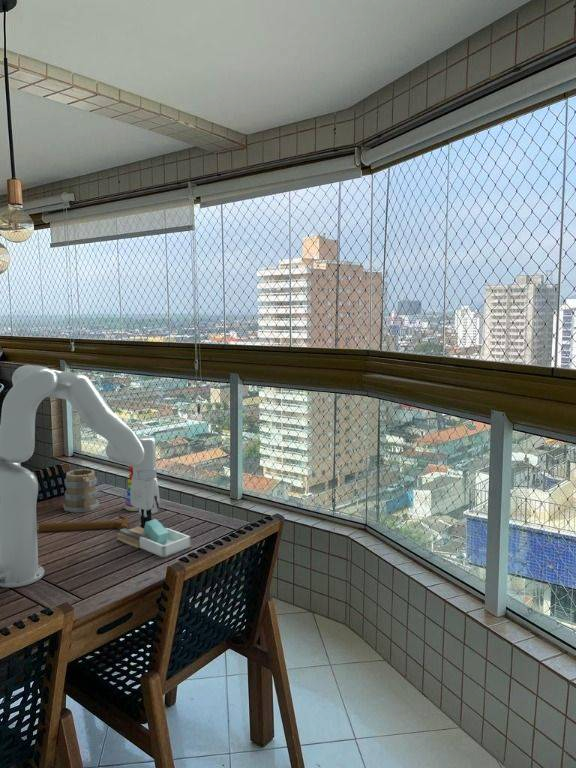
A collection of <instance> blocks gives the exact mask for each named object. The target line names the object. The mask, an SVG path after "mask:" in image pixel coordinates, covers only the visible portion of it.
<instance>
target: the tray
mask: <svg viewBox="0 0 576 768" xmlns="http://www.w3.org/2000/svg"><path fill="white" fill-rule="evenodd" d="M164 528H165V529H166V530H167V531H168V532H169V535H168V539H167V542H166V543H164V544H159V543H157V542H154V541H152V540H149V539H147V538H144V537H140V547H139V549H141V550H144V551H146V552H149V553H151V554H154V555H155V556H158V557H161V558H163V559H164V558H167V557H169V556H171V555H174V554H177V553H179V552H181V551H185V550H187V549H189V548H191V547H192V536H190V535H189V534H188V535H187V534H184V533H182V532H180V531H177V530H173V529H171V528H169V527H164ZM184 549H185V550H184Z"/></svg>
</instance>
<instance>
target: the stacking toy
mask: <svg viewBox="0 0 576 768" xmlns="http://www.w3.org/2000/svg"><path fill="white" fill-rule="evenodd" d="M128 471H129V472H130V473H129V475H128V478H129V479H128V480H127V483H128V484H127V490H126V496H125V497H126V499H125V501H124V503H125V505H124V509H125V510H126V511H128V512H139V510H138V509H137V508H136V507H134V506H132V505H131V502H130V489H131V480H132V477H133V466H128Z"/></svg>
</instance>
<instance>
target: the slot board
mask: <svg viewBox="0 0 576 768" xmlns="http://www.w3.org/2000/svg"><path fill="white" fill-rule="evenodd" d="M143 531H144V528H141V522H139V524H138V526H136V527H134V528H133V527H132V528H129V529H126V528H124V529H121V530H120V531H119V532H117V533H116V540H118V541H120V542H122V543H125V544H127V545H129V546H132V547H133V548H140V537H144V538H147V539H149V540H150V538H149V537H148V536H147V535H146V534H145V533H144V532H143Z"/></svg>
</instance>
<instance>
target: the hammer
mask: <svg viewBox="0 0 576 768" xmlns="http://www.w3.org/2000/svg"><path fill="white" fill-rule="evenodd" d="M118 518H119V519H118V520H114V519H113V520H106V521H63V522H61V521H60V522H40V523H39V524H38V532H39V533H46V532H45V531H52V532H68V531H69V532H72V531H71V530H75V531H88V530H89V531H90V530H104V529H105V530H107V529H109V530H110V529H117V530H119V532H120V530H121V529H124V528H126V529H128V530H129V529H130V519H129V518H128V517H127V516H124V515H119V516H118Z"/></svg>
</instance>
